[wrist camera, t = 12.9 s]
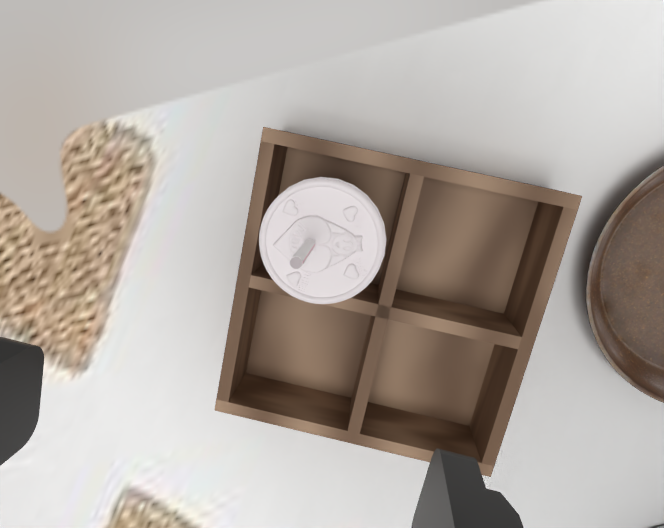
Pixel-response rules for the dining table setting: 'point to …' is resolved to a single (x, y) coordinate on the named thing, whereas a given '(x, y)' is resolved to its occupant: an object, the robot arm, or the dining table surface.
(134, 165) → the dining table surface
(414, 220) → the bottle caddy
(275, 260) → the smoothie
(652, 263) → the plant saucer
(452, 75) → the dining table surface
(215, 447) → the dining table surface
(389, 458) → the dining table surface
